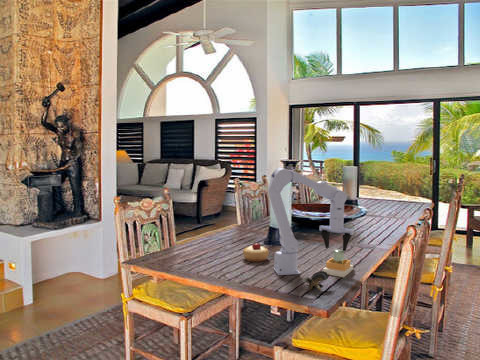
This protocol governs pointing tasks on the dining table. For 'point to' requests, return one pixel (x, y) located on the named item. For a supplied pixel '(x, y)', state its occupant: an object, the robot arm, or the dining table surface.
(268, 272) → the dining table surface
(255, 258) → the pastry
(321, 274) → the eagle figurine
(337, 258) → the green can
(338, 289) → the dining table surface
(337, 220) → the robot arm
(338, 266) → the orange and cream box
